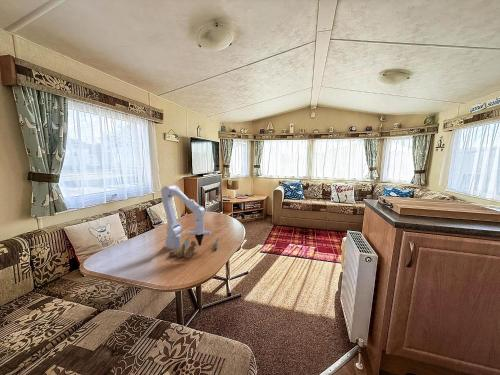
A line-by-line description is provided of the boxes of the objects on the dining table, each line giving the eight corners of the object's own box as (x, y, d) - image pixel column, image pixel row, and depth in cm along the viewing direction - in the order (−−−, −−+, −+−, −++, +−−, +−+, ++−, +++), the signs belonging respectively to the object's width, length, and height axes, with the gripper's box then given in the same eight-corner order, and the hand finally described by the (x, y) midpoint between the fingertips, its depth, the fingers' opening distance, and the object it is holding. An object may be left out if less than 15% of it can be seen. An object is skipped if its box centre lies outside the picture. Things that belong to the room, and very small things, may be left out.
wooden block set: (166, 251, 123) (172, 244, 133) (171, 264, 124) (177, 256, 134) (194, 242, 122) (198, 236, 132) (199, 255, 123) (203, 247, 133)
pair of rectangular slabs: (183, 250, 135) (182, 244, 134) (187, 243, 146) (187, 237, 146) (216, 250, 136) (216, 244, 135) (218, 243, 148) (218, 237, 147)
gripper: (186, 227, 128) (187, 247, 130) (209, 227, 129) (210, 247, 131) (189, 223, 135) (189, 243, 137) (211, 223, 136) (211, 243, 138)
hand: (199, 244), depth 134 cm, fingers closed
